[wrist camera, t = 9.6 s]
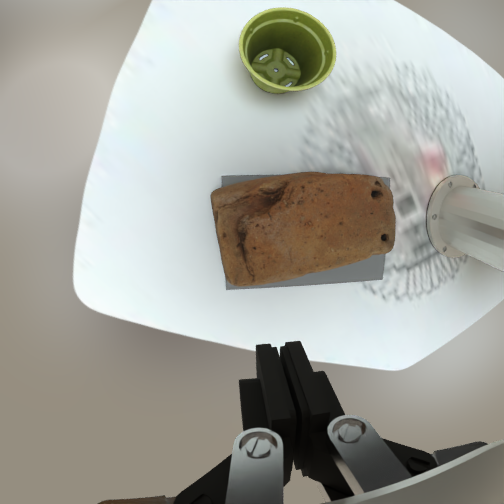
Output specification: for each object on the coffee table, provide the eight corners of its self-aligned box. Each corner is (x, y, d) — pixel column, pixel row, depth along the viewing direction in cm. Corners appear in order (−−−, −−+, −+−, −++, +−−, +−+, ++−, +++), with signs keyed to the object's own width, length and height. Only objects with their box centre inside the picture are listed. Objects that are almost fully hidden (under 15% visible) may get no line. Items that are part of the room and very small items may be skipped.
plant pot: (219, 66, 32) (218, 39, 24) (278, 25, 31) (292, -7, 23) (270, 121, 35) (284, 109, 26) (327, 78, 34) (354, 59, 25)
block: (225, 274, 39) (374, 244, 40) (227, 297, 31) (403, 258, 33) (208, 187, 36) (366, 162, 37) (205, 190, 29) (396, 161, 30)
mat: (388, 177, 38) (389, 177, 37) (381, 278, 41) (382, 279, 41) (221, 176, 36) (221, 176, 36) (226, 288, 40) (226, 289, 39)
